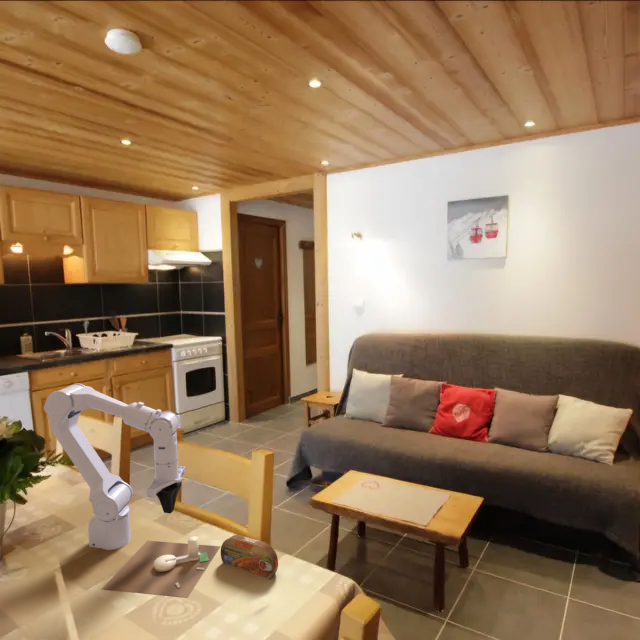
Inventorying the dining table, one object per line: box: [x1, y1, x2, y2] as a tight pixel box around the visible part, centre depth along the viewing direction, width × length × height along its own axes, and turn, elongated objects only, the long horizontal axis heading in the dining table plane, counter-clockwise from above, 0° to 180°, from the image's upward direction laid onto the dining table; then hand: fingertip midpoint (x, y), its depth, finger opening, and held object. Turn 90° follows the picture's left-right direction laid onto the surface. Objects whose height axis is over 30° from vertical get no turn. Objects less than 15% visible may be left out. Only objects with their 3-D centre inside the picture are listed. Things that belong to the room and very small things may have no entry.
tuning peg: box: [154, 535, 200, 572], centre depth 108 cm, size 10×5×5 cm, turn 110°
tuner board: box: [101, 540, 222, 599], centre depth 108 cm, size 20×19×2 cm
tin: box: [220, 534, 279, 581], centre depth 106 cm, size 15×3×8 cm, turn 62°
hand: (168, 511), depth 118 cm, fingers closed
